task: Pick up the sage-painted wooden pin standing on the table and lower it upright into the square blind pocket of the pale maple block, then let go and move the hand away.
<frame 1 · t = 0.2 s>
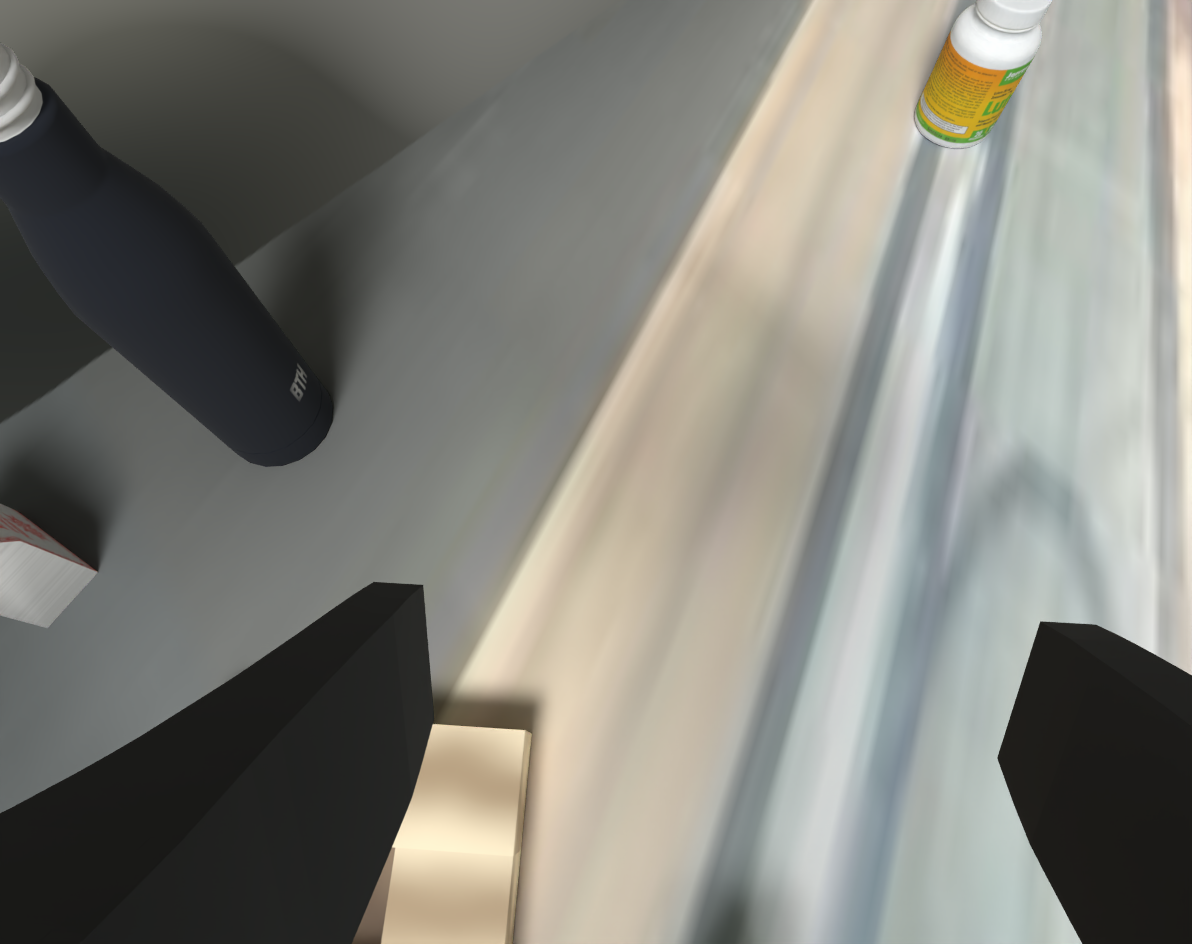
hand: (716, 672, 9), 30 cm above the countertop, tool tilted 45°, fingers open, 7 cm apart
white pink printed box: (34, 568, 42), on the countertop
supplement bottle: (949, 125, 53), on the countertop
wine bottle: (282, 420, 45), on the countertop
pocket block: (346, 901, 35), on the countertop
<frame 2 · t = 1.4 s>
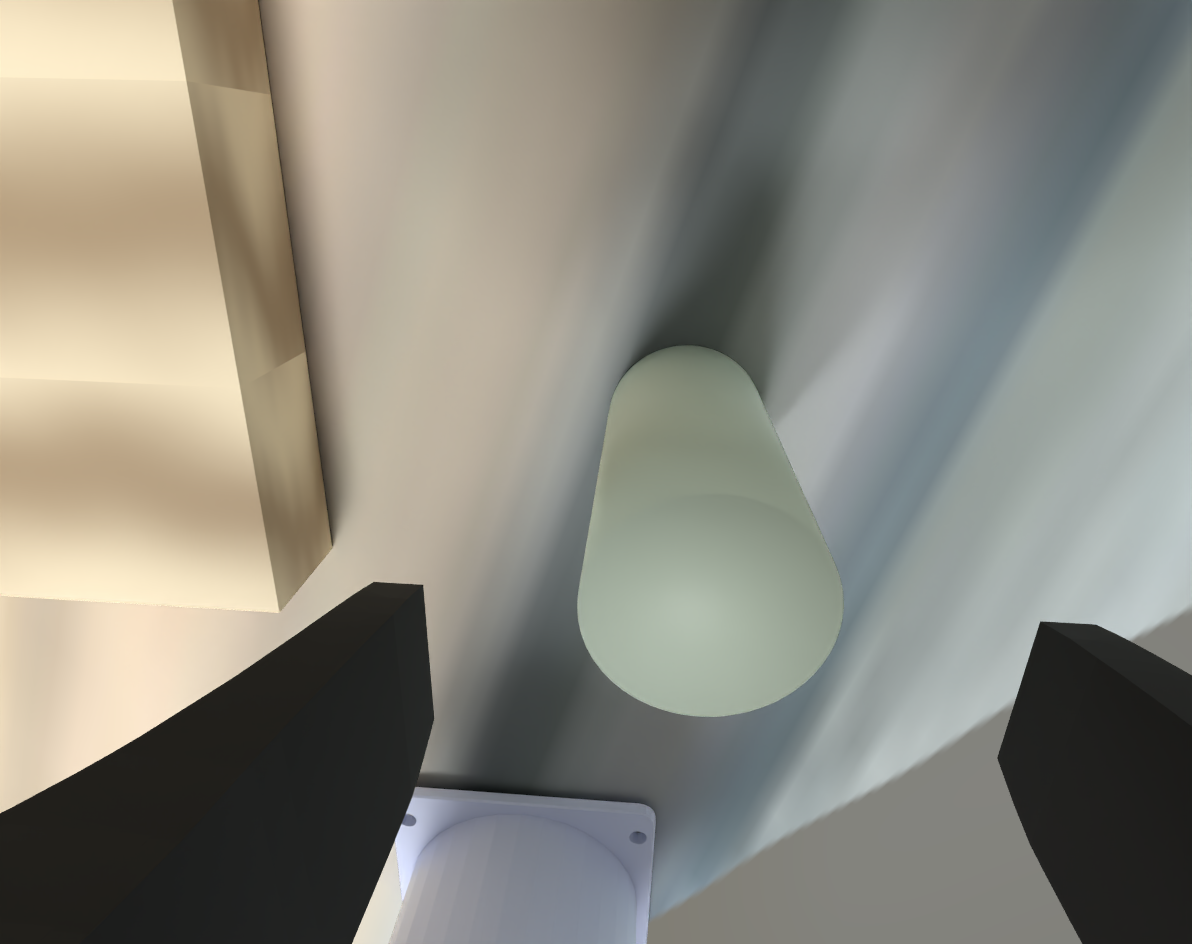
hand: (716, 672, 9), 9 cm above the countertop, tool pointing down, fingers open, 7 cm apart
pin: (684, 420, 17), on the countertop
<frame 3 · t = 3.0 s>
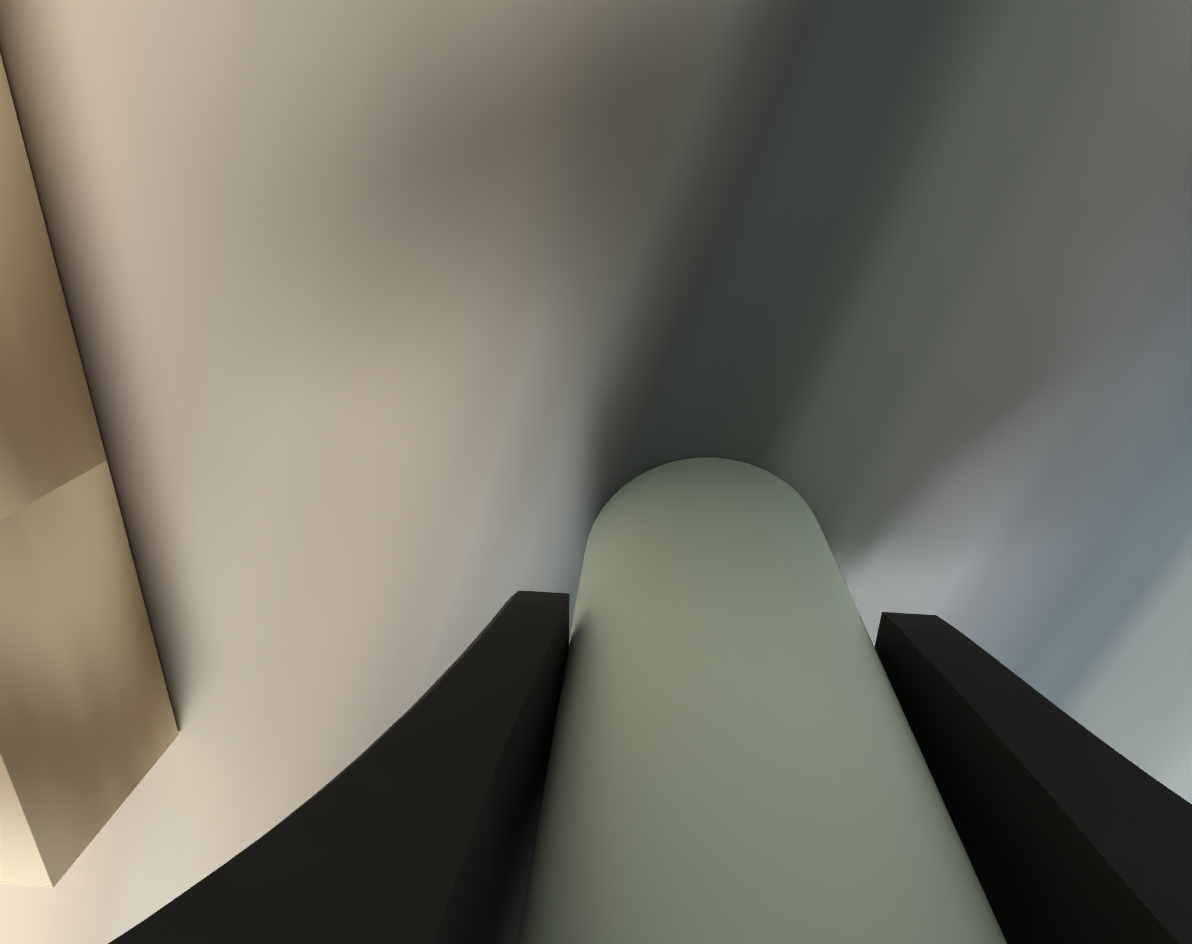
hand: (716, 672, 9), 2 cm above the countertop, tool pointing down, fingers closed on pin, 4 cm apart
pin: (703, 568, 11), on the countertop, touching gripper
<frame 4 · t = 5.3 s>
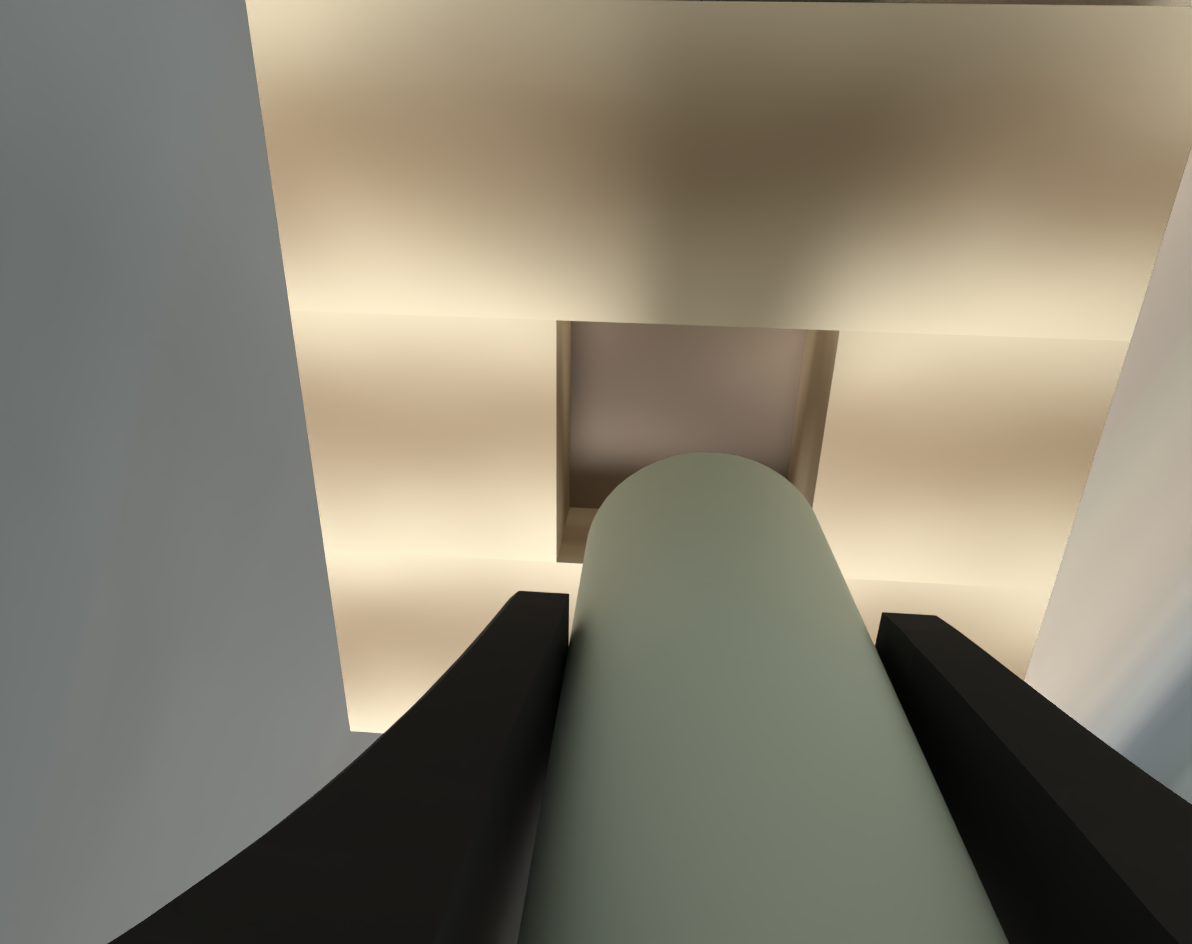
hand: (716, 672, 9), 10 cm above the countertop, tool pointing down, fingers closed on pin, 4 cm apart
pin: (703, 562, 11), point 7 cm above the countertop, touching gripper
pocket block: (681, 409, 18), on the countertop
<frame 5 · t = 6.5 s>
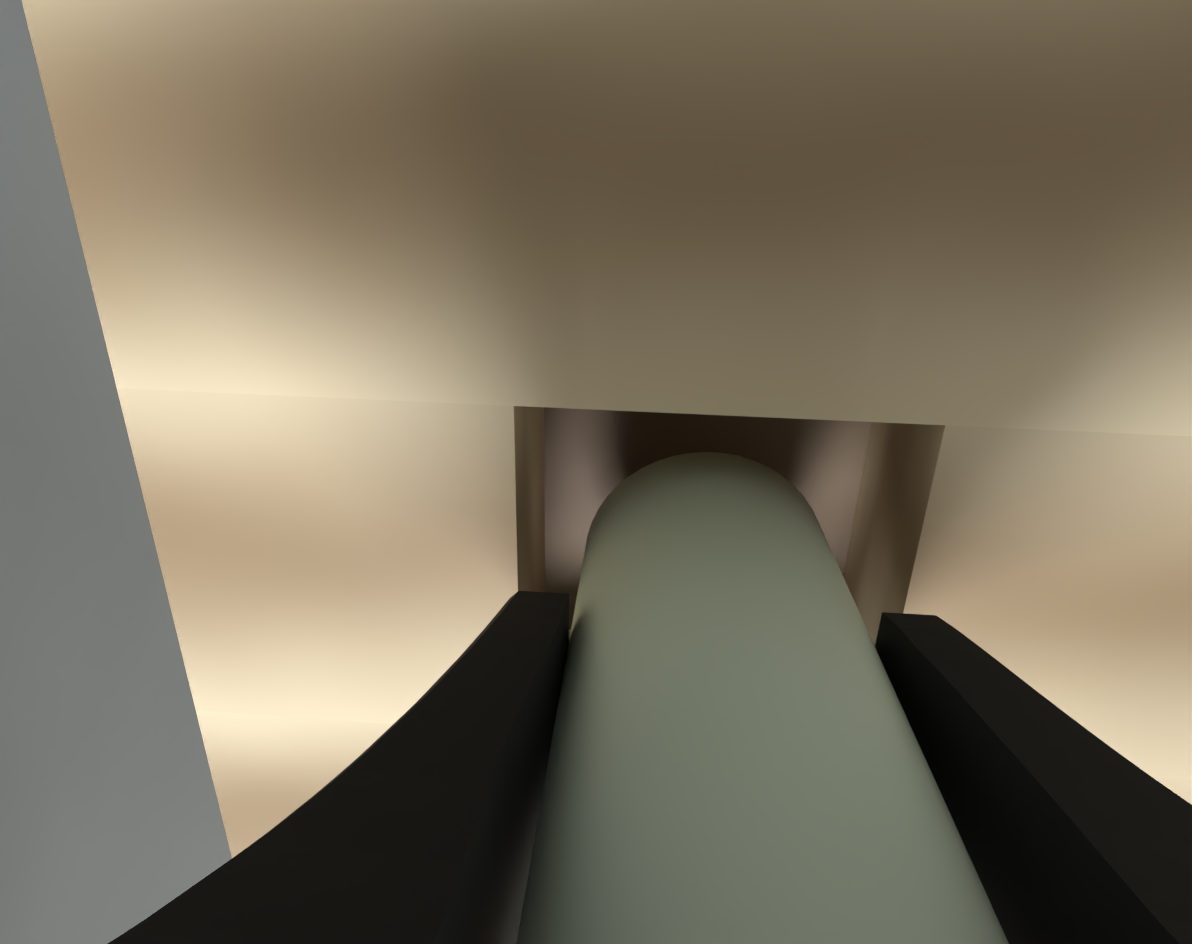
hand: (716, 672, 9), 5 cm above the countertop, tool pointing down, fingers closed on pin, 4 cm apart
pin: (702, 562, 11), point 2 cm above the countertop, touching gripper
pocket block: (696, 504, 13), on the countertop
when the fingers open (3 cm above the countertop, at t = 7.6 s): pin stays where it is, resting on pocket block.
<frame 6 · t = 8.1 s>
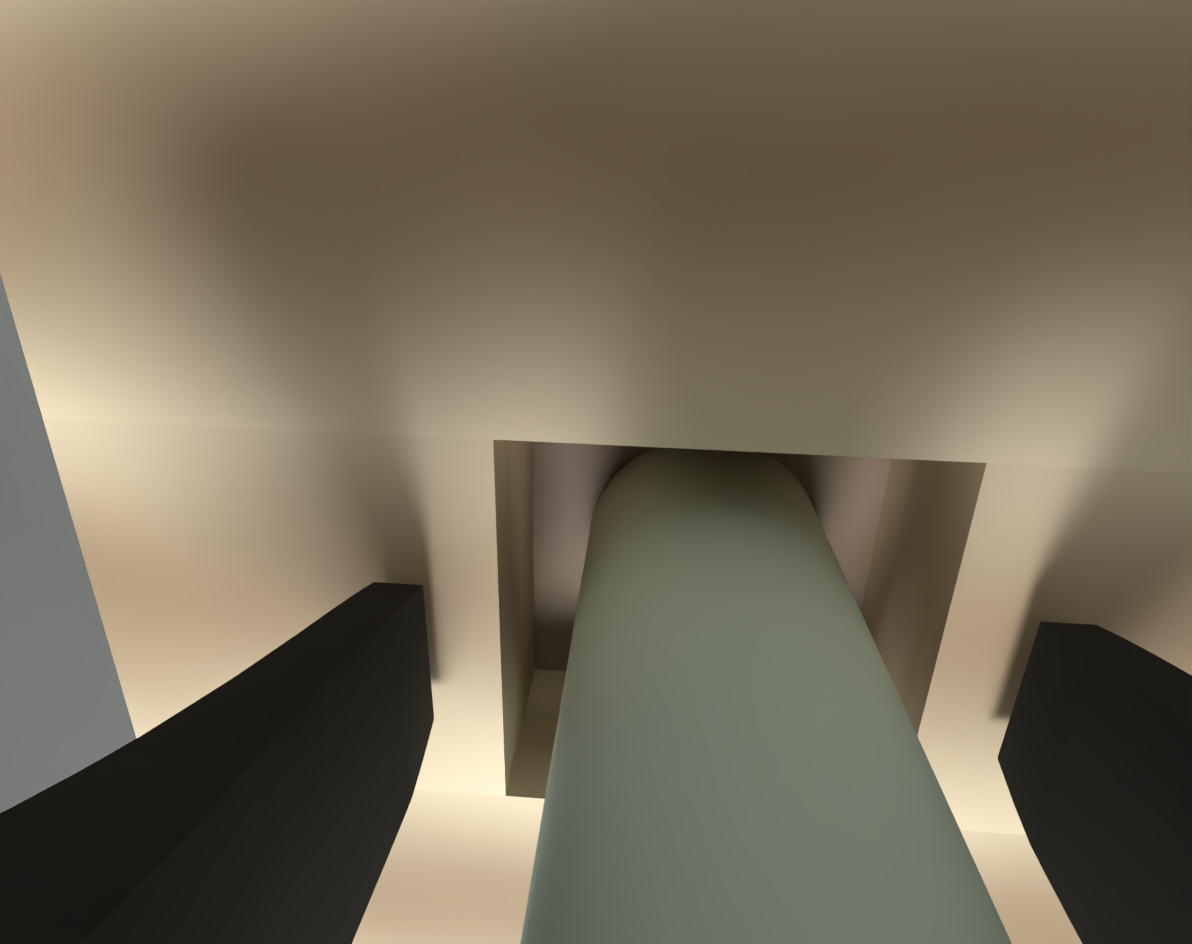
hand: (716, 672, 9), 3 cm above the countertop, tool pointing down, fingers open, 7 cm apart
pin: (701, 542, 12), resting on pocket block
pocket block: (700, 537, 12), on the countertop
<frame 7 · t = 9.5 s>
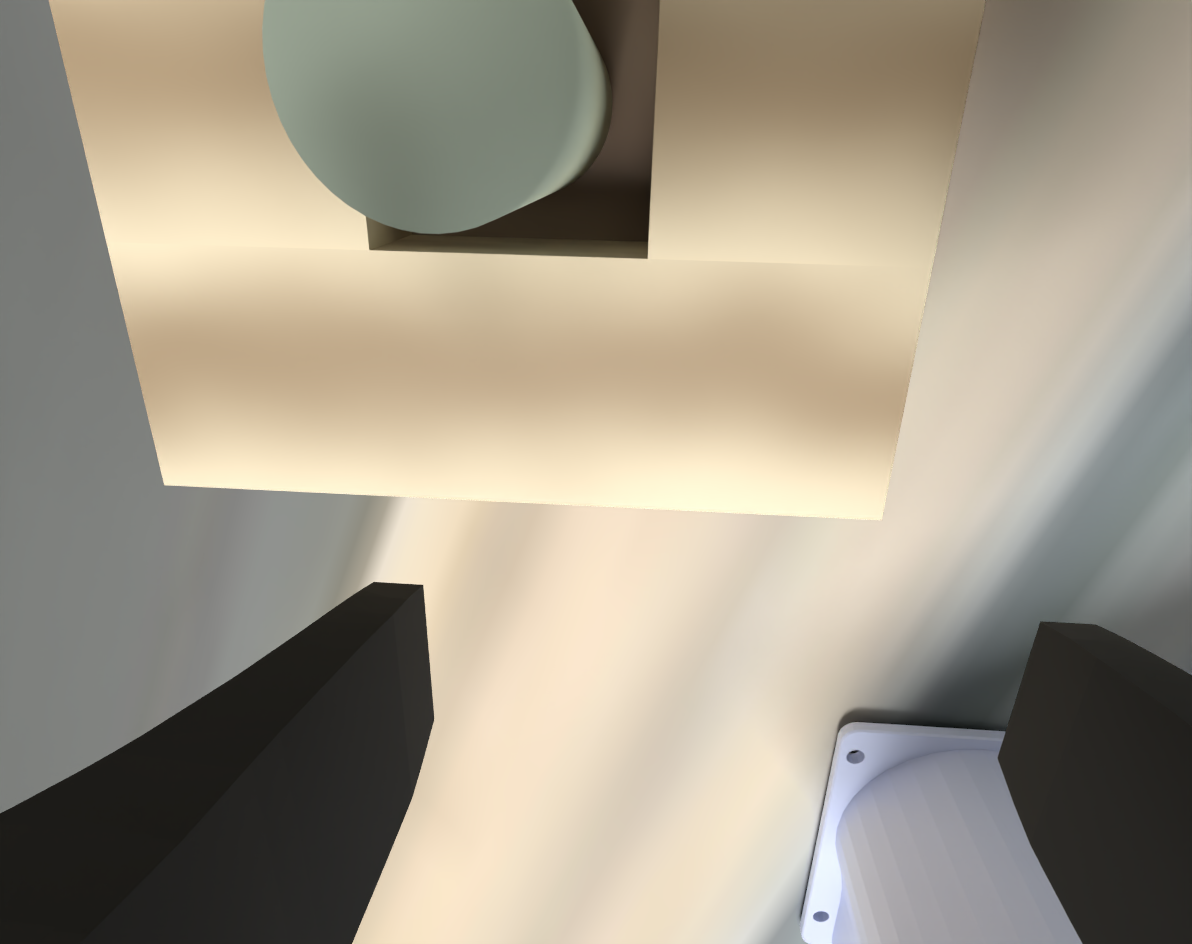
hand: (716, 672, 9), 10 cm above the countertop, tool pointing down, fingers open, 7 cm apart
pin: (527, 104, 16), resting on pocket block
pocket block: (528, 106, 16), on the countertop
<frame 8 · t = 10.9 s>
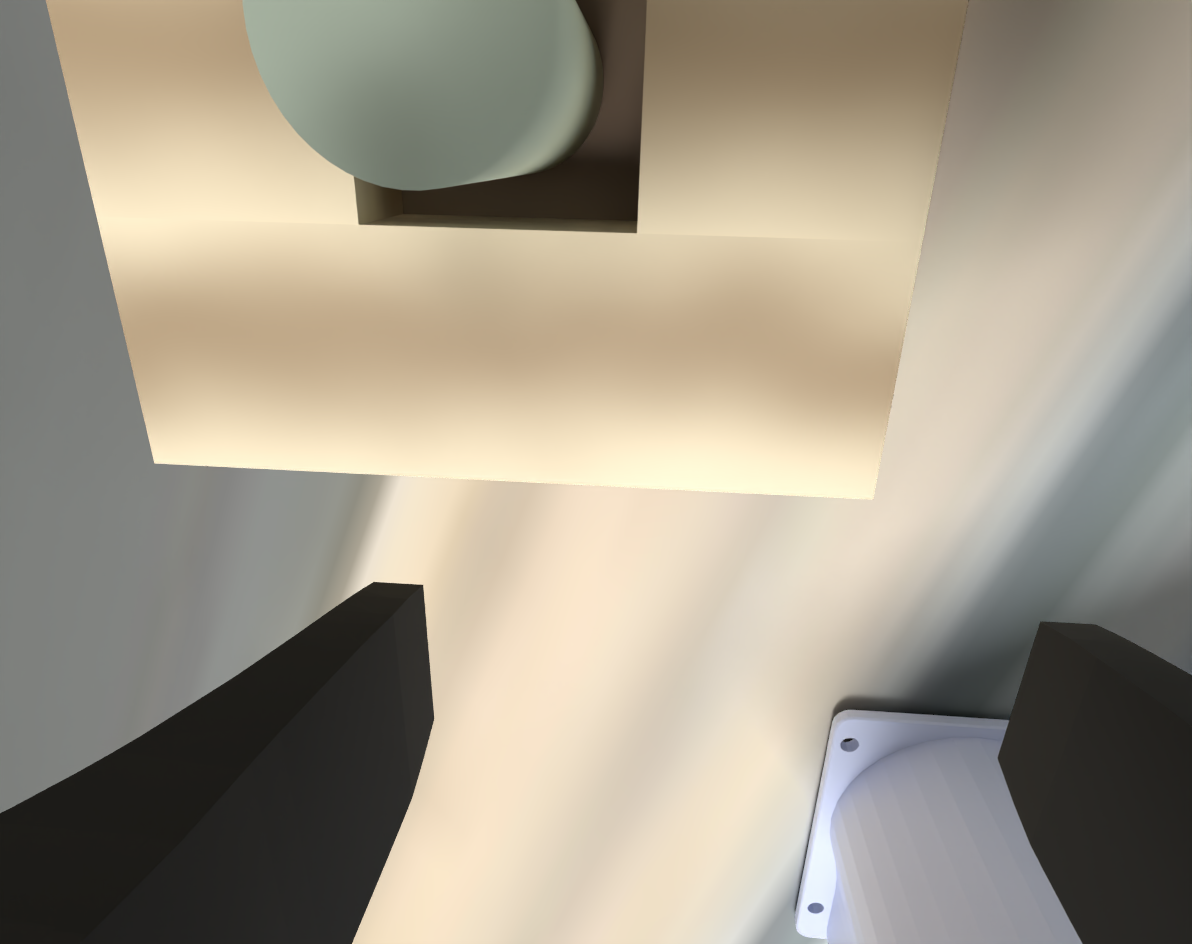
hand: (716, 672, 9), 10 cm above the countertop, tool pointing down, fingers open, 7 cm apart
pin: (518, 82, 16), resting on pocket block
pocket block: (519, 84, 16), on the countertop
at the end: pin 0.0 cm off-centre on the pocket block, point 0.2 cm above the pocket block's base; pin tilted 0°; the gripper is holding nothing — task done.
